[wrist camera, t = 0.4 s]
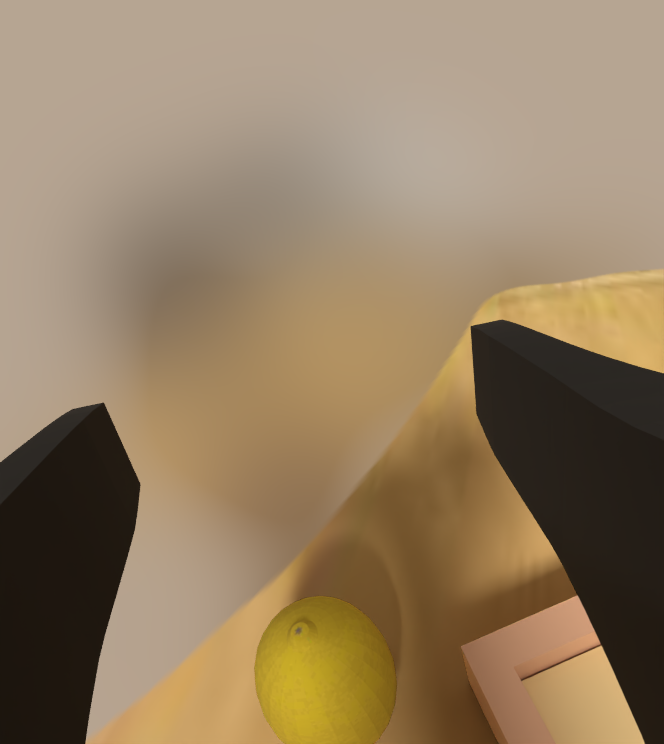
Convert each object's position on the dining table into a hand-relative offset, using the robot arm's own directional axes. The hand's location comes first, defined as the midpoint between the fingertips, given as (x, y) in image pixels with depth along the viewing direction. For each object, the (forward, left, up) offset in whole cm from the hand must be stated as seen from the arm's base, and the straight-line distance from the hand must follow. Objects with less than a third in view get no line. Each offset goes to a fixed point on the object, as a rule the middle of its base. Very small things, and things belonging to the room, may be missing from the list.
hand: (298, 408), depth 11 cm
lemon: (+3, +3, -20) cm, 21 cm away
